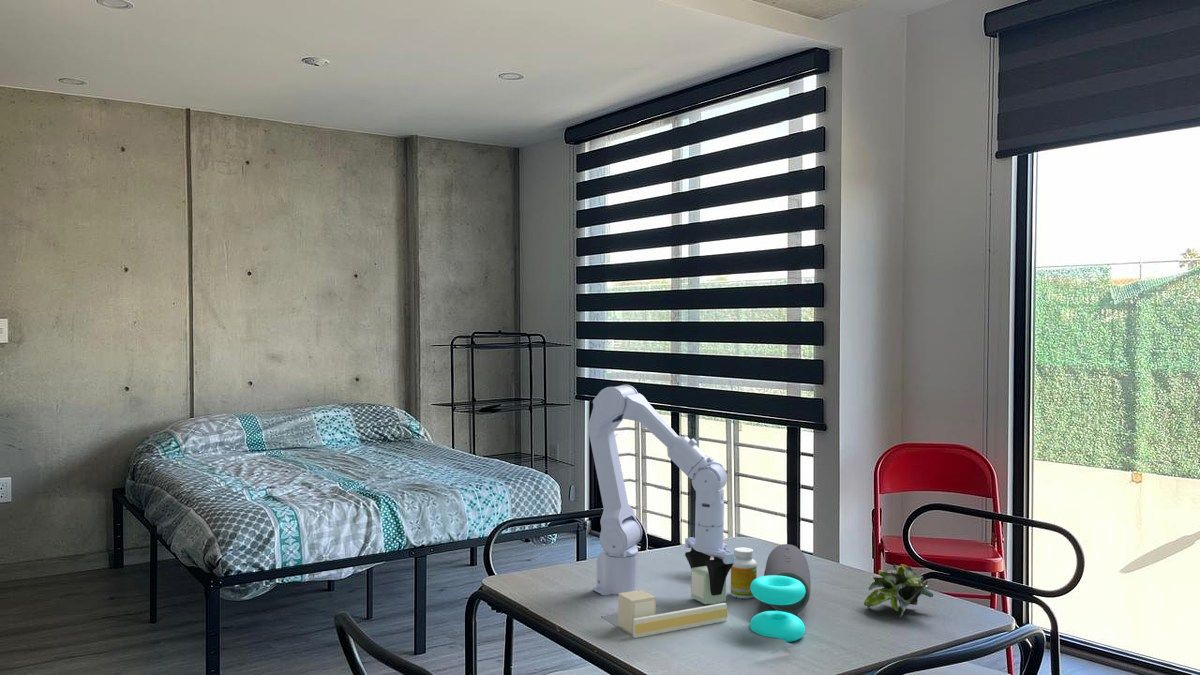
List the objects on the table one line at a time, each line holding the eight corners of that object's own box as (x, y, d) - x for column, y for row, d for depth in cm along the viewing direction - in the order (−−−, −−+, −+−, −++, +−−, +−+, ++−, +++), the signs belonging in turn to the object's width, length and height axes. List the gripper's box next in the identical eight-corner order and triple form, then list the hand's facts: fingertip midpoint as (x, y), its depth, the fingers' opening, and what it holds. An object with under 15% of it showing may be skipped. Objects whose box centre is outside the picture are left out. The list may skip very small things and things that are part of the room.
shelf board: (600, 622, 168) (600, 599, 168) (688, 607, 177) (688, 585, 177) (635, 645, 156) (635, 620, 156) (727, 627, 165) (727, 604, 165)
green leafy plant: (902, 633, 179) (937, 586, 179) (907, 641, 168) (944, 591, 168) (855, 597, 182) (889, 550, 182) (857, 603, 171) (893, 553, 171)
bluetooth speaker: (764, 585, 193) (765, 540, 193) (808, 588, 191) (808, 542, 191) (762, 619, 171) (763, 567, 170) (811, 622, 169) (812, 571, 169)
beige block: (618, 625, 163) (618, 593, 163) (641, 621, 165) (641, 589, 165) (632, 634, 158) (632, 601, 158) (655, 629, 160) (656, 597, 160)
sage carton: (711, 594, 181) (711, 565, 181) (725, 600, 177) (726, 571, 177) (690, 597, 179) (690, 568, 179) (704, 604, 174) (705, 574, 174)
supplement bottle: (756, 600, 182) (756, 553, 182) (729, 598, 183) (730, 551, 183) (756, 592, 188) (757, 547, 187) (731, 590, 189) (731, 545, 189)
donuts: (769, 570, 169) (815, 580, 162) (768, 622, 169) (815, 634, 162) (739, 581, 161) (787, 592, 155) (739, 635, 162) (786, 649, 155)
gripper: (747, 529, 173) (746, 598, 173) (705, 514, 186) (704, 578, 186) (718, 533, 170) (717, 603, 170) (677, 518, 182) (676, 583, 183)
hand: (708, 590), depth 178 cm, fingers closed on sage carton, 5 cm apart
